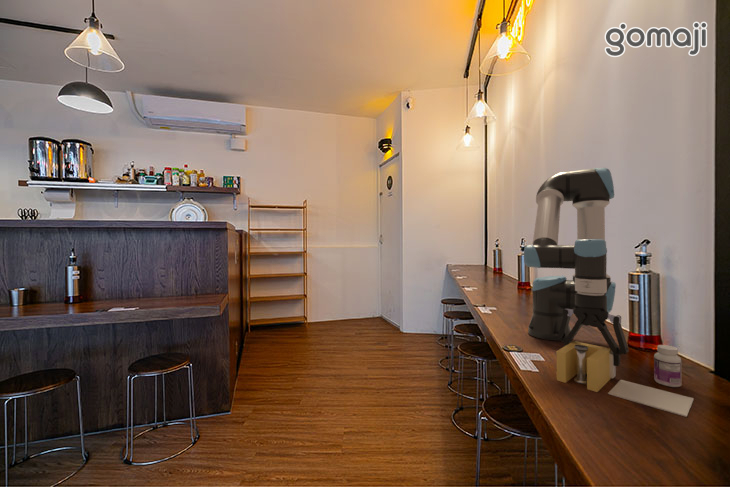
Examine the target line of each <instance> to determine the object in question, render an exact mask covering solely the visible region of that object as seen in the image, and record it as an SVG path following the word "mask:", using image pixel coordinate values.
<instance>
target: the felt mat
mask: <svg viewBox="0 0 730 487" xmlns="http://www.w3.org/2000/svg"><path fill="white" fill-rule="evenodd" d="M607 394H608V395H610V396H613V397H617V398H621V399H623V400H628V401H630V402H633V403H637V404H640V405H644V406H648V407H651V408H654V409H658V410H661V411H665V412H668V413H672V414H675V415H679V416H682V417H686V418H687V417H688V415H689V413H690V410H691V407H692V405H693V403H694V397H690V396H686V395H682V394H678V393H674V392H670V391H667V390H663V389H659V388H655V387H651V386H647V385H643V384H639V383H635V382H633V381H632V382H631V381H629V380H624V379H620V380H619V381H617V383H616V384H615V385H614V386H613V387H612V388H611V389H610V390H609V392H607Z"/></svg>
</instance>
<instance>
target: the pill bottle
mask: <svg viewBox="0 0 730 487" xmlns="http://www.w3.org/2000/svg"><path fill="white" fill-rule="evenodd" d="M656 349H657V352H655V353H654V355H653V361H654V362H653V377H654V381H655V382H656V383H658V384H659V385H662V386H666V387H671V388H679V387H682V358H681V357H680V356H679V355H678V354H679V353H678V352H679V349H678V348H677V347H676V346H672V345H668V344H658V345H657V348H656Z"/></svg>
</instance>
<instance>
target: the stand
mask: <svg viewBox="0 0 730 487" xmlns="http://www.w3.org/2000/svg"><path fill="white" fill-rule="evenodd" d="M575 350H577V374H576V376H574V377H573V378H574V382H575V383H577V384H582V385H587V374H586V351H588V347H587V346H584V345H575Z"/></svg>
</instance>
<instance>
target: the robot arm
mask: <svg viewBox="0 0 730 487" xmlns="http://www.w3.org/2000/svg"><path fill="white" fill-rule="evenodd" d="M614 189H615V188H614V181H613V177H612V173H611V171H610V169H609V168H606V167H598V168H597V167H593V168H588V169H587V168H586V169H579V170H569V171H561V172H558V173H555V174H553V175H551V176H550V177H549V178H547V179H546V180H545V181H544V182H543V183H541V185H540V186H539V189H538V190H537V192H536V197H535V203H536V204H537V209H536V217H535V224H534V230H533V237H532V238H533V239H532V244H527V245H525V247H524V249H523V262H524V265H525V266H526V267H527V268H528V267H529V268H535V269H540V268H542V269H570V270H571V269H573V270H574V274H573V275H572V279H567V276H565V275H548V276H541V277H536V278H534V279H533V281H532V289H531V291H532V315H531V319H530V321H529V324H528V327H527V329H528V330H527V331H528V332H527V333H528V335H530V336H532V337H534V338H537V339H542V340H547V341H555V342H556V341H559V342H562V343H563V344H564V346H566V345H568V344H569V343H571V342H573V341H574V340H573V339H574V338H575V337H576V335H577V334H578V332H579V331H580V329H581V327H583V326H586V327H588V326H589V327H593V328H597V330H598V331H599V333H600V334H601V335H602V337H603V339H604V340H605V342H606V343H607V345H608V348H610V349H611V351H612V352H611V353H610V354H609V361H610V378H611V379H614V378H615V377H616V376H617V375H616V374H617V372H616V370H617V367H619V366H620V365H621V355H626V354H628V352H630V349H629V345H628V343H627V340H626V336H625V332H624V331H623V327H622V316H621V315H619V314H617V315H614V314H610V313H611V312H612V310H613V307H614V302H615V295H616V294H615V293H616V287H617V286H616V285H617V284H616V282H614V281H611V279H612V278H611V276H610V275H609V274H608V273H607V264H608V263H607V252H608V249H607V241H606V225H605V223H606V221H605V219H606V218H605V215H606V214H605V208H606V207H607V206H608V205H609V204H610V200H612V199H614V198H615V190H614ZM564 202H572V206H573V207H574V209H576V218H577V219H576V229H577V231H576V234H577V235H576V236H577V238H576V240H575V241H574V244H565V245H564V244H559V232H560V231H559V230H560V217H561V216H560V215H561V206H562V204H564ZM573 315H574V316H575V317H576V318H577V320H576V322H575V323H574V326H572V328H571V325H570V321H571V317H572V316H573ZM607 320H609V321H610V323H611V324H612V327H613V330H614V334H615V337H616V340H617V342H616V341H615V339H614V337H613V335H612V334H611V332H610V331H609V329H608V326H607V324H606V321H607ZM617 343H618V344H617ZM564 346H563V347H564Z"/></svg>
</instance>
